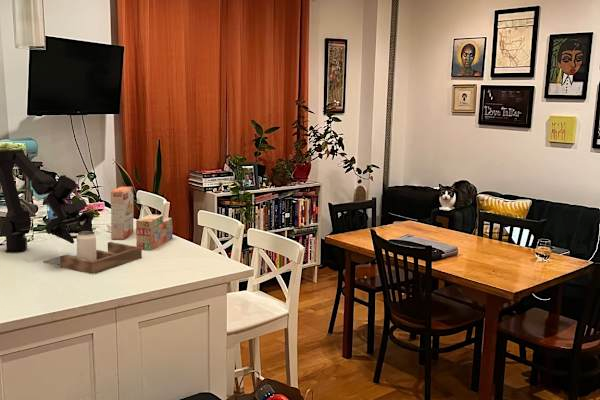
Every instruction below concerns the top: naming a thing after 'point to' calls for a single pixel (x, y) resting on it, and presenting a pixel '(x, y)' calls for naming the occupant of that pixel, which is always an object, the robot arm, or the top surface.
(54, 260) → the mat
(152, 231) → the stack of blocks
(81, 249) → the can
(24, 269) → the top surface
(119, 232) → the cracker box
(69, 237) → the robot arm
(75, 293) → the top surface
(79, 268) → the shelf lanes
